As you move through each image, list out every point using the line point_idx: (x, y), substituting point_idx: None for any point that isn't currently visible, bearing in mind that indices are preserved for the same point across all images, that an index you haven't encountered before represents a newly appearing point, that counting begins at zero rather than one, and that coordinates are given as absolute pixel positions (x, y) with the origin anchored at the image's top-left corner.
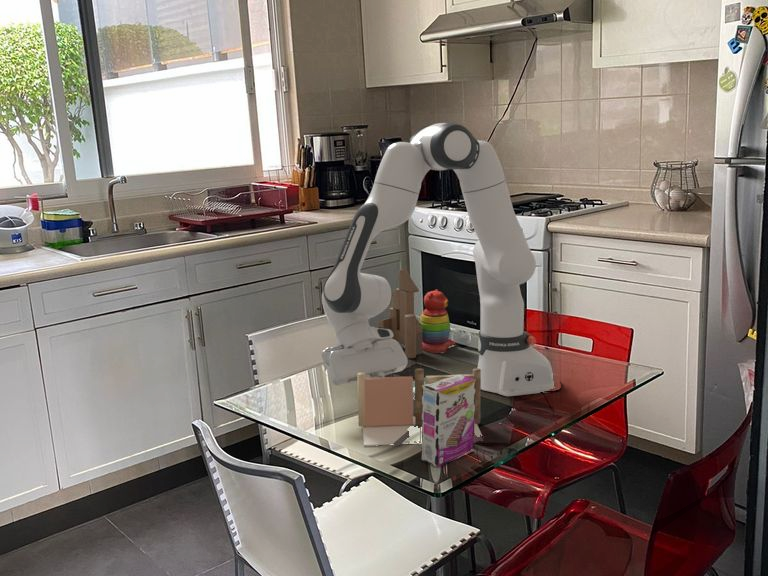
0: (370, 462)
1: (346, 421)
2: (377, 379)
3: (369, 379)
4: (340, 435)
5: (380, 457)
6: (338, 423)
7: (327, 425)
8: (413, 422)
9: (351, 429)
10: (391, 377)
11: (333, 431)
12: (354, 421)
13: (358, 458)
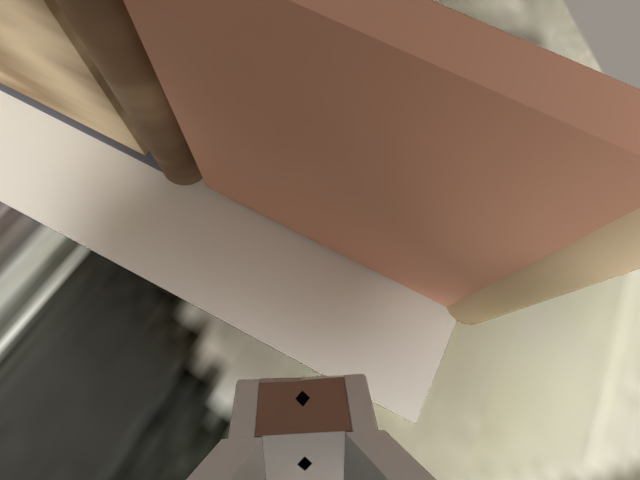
0: (557, 5)
1: (506, 460)
2: (532, 46)
3: (637, 94)
4: (597, 288)
5: (507, 16)
6: (562, 457)
7: (632, 466)
8: (194, 202)
9: (519, 328)
10: (335, 3)
11: (619, 358)
12: (462, 430)
13: (589, 50)
